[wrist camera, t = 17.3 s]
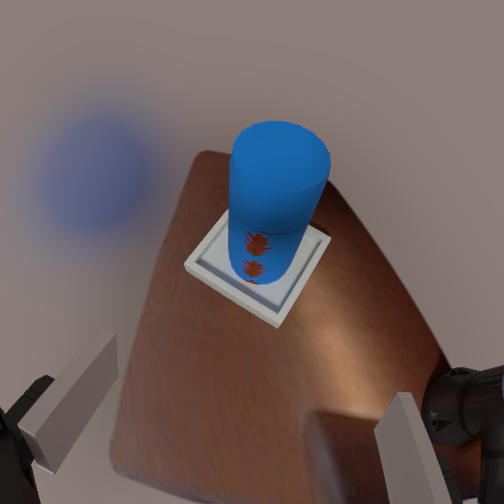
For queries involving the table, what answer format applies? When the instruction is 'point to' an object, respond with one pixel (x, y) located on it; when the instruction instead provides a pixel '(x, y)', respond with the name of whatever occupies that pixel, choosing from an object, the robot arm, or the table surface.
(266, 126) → the thermos
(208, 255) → the tray
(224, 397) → the table surface
